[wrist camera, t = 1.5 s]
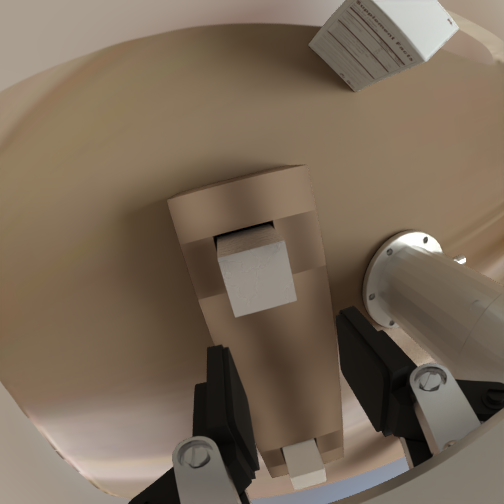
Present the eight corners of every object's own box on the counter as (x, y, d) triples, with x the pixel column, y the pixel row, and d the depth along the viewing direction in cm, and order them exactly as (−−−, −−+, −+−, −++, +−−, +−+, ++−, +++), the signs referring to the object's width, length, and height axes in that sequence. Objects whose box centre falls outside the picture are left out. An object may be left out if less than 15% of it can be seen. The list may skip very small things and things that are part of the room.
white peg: (313, 436, 31) (324, 468, 26) (315, 451, 33) (326, 480, 27) (281, 445, 31) (290, 478, 26) (286, 459, 32) (294, 490, 27)
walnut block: (288, 165, 27) (307, 164, 22) (332, 430, 39) (343, 457, 33) (177, 193, 27) (166, 200, 21) (266, 449, 39) (272, 478, 33)
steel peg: (268, 223, 23) (284, 240, 18) (279, 272, 24) (296, 300, 19) (217, 237, 23) (217, 258, 18) (230, 285, 24) (235, 317, 19)
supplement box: (345, 15, 23) (402, -37, 11) (390, 62, 25) (463, 29, 13) (304, 44, 24) (355, -16, 12) (353, 95, 26) (428, 63, 14)
